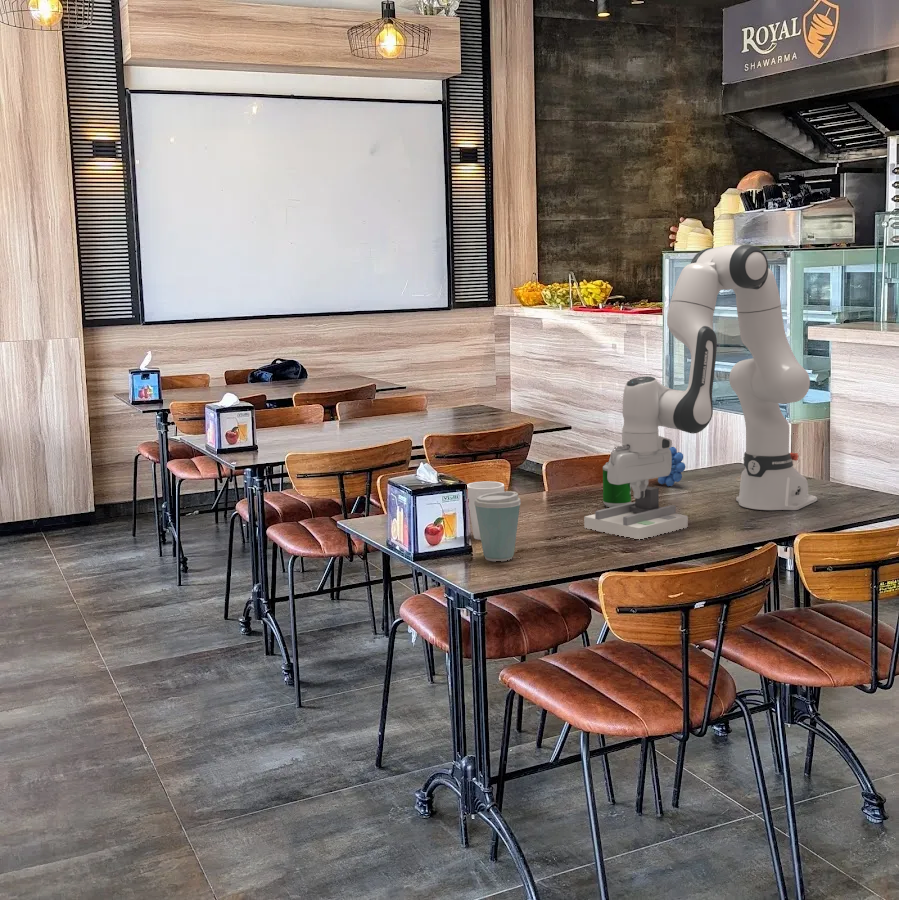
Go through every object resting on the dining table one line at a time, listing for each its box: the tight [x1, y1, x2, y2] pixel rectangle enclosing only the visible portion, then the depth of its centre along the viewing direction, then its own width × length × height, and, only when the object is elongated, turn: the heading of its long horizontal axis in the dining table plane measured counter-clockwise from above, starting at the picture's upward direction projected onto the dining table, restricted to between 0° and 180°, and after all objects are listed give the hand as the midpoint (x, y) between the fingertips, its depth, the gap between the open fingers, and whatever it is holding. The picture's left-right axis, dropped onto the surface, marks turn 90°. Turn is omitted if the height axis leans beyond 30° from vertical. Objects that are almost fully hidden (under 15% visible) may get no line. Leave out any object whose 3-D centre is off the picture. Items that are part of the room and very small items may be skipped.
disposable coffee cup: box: [474, 490, 522, 562], centre depth 251 cm, size 11×11×15 cm
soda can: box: [602, 461, 632, 508], centre depth 300 cm, size 8×8×12 cm
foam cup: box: [466, 480, 505, 541], centre depth 271 cm, size 10×9×13 cm
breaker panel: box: [583, 501, 689, 541], centre depth 276 cm, size 18×18×5 cm
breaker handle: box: [630, 485, 663, 513], centre depth 278 cm, size 5×7×6 cm
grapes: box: [657, 446, 687, 487], centre depth 325 cm, size 12×7×12 cm, turn 38°
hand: (639, 497), depth 276 cm, fingers closed
